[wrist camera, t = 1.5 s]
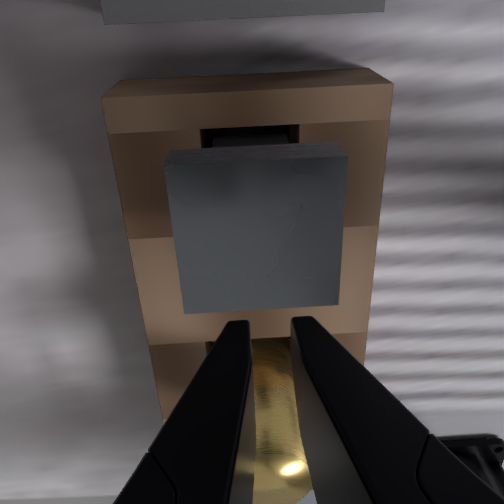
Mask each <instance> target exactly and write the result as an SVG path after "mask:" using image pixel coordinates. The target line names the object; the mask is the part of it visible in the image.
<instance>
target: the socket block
mask: <svg viewBox="0 0 504 504" xmlns="http://www.w3.org/2000/svg"><path fill="white" fill-rule="evenodd" d="M393 84H394V83H392V82H390V81H389V80H387V79H385V78H384V77H382V76H381V75H379V74H377V73H376V72H374V71H372V70H371V69H369V68H361V69H340V70H320V71H300V72H280V73H260V74H240V75H219V76H199V77H179V78H159V79H139V80H120V81H119V82H118V83H117V84H116V85H115V86H113V87H112V88H111V89H110V90H109V91H108V92H107V93H106V94H105V95H104V96H103V97H101V102H102V107H103V113H104V118H105V123H106V128H107V133H108V138H109V144H110V149H111V154H112V159H113V164H114V169H115V175H116V180H117V185H118V190H119V195H120V200H121V206H122V211H123V216H124V221H125V226H126V231H127V237H128V242H129V247H130V252H131V257H132V262H133V268H134V273H135V278H136V283H137V288H138V293H139V298H140V304H141V309H142V314H143V319H144V324H145V329H146V335H147V340H148V345H149V350H150V355H151V360H152V366H153V371H154V376H155V381H156V386H157V391H158V397H159V402H160V407H161V412H162V417H163V422H164V423H165V421H166V420H167V418H168V417H169V415H170V413H171V412H172V410H173V409H174V407H175V405H176V404H177V402H178V401H179V399H180V397H181V396H182V394H183V392H184V391H185V389H186V388H187V386H188V384H189V383H190V381H191V380H192V378H193V376H194V375H195V373H196V372H197V370H198V368H199V367H200V365H201V363H202V362H203V360H204V359H205V357H206V355H207V354H208V352H209V351H210V349H211V347H212V341H216V339H217V338H218V336H219V334H220V333H221V331H222V330H223V328H224V326H225V325H226V323H227V322H228V321H231V320H248V321H249V322H250V332H251V339H257V338H274V337H290V322H291V319H292V317H297V316H312V317H314V318H315V319H316V320H317V321H318V322H319V323H320V324H321V325H322V326H323V327H324V328H325V329H326V330H327V331H328V332H329V333H330V334H331V335H332V336H333V337H334V338H336V339H337V340H338V341H339V342H340V343H341V344H342V345H343V346H344V347H345V348H346V349H347V350H348V351H349V352H350V353H351V354H352V355H353V356H354V357H355V358H356V359H357V360H358V361H359V362H360V363H361V364H362V365H363V366H364V360H365V350H366V341H367V331H368V322H369V312H370V303H371V293H372V284H373V274H374V265H375V255H376V246H377V236H378V227H379V217H380V208H381V198H382V189H383V179H384V170H385V160H386V151H387V141H388V132H389V122H390V113H391V103H392V94H393ZM270 125H289V143H290V144H294V143H313V142H332V141H338V142H339V143H340V145H341V146H342V148H343V149H344V151H345V152H346V153H347V155H348V166H347V182H346V197H345V213H344V229H343V244H342V260H341V276H340V291H339V305H332V306H316V307H299V308H282V309H265V310H248V311H232V312H215V313H198V314H184V309H183V302H182V295H181V287H180V280H179V273H178V266H177V259H176V251H175V244H174V237H173V230H172V222H171V215H170V208H169V201H168V194H167V186H166V179H165V172H164V163H165V160H166V157H167V155H168V152H169V150H180V149H199V148H207V142H206V131H205V129H212V128H231V127H251V126H270Z"/></svg>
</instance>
